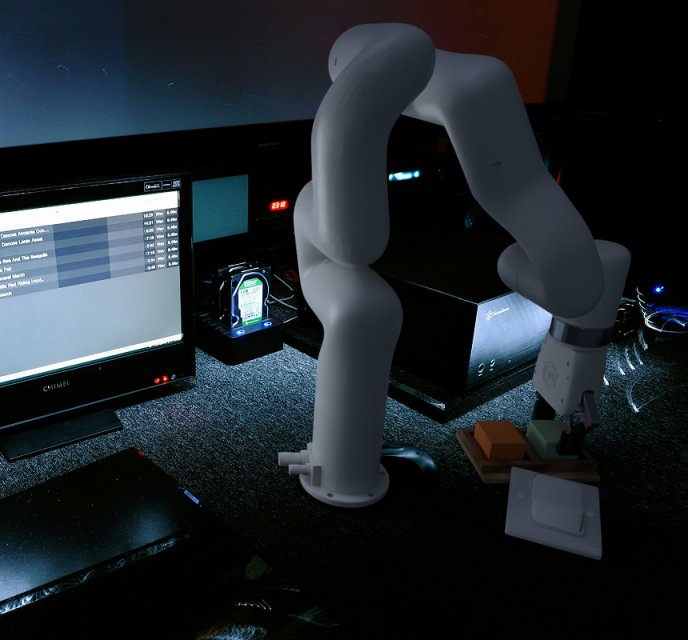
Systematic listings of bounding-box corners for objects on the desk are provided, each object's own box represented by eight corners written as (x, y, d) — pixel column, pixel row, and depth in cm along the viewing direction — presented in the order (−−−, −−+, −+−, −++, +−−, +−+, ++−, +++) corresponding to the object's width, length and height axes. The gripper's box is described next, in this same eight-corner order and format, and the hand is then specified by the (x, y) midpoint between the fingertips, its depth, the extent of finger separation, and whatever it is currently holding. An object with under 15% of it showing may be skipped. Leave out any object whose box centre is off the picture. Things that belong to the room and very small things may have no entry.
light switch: (509, 514, 83) (515, 450, 93) (503, 537, 85) (510, 473, 95) (608, 541, 79) (603, 471, 89) (599, 564, 81) (595, 494, 91)
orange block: (487, 466, 97) (491, 443, 95) (472, 442, 102) (476, 420, 101) (521, 466, 97) (526, 443, 95) (505, 442, 102) (509, 420, 101)
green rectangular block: (541, 465, 97) (546, 442, 95) (524, 441, 102) (529, 419, 101) (576, 465, 97) (582, 442, 95) (557, 441, 102) (562, 419, 101)
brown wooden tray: (483, 483, 94) (486, 470, 94) (455, 435, 105) (457, 423, 105) (599, 482, 94) (603, 469, 93) (558, 434, 105) (561, 422, 104)
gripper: (525, 306, 99) (505, 407, 106) (585, 359, 83) (557, 474, 91) (575, 305, 99) (552, 407, 106) (645, 358, 83) (612, 474, 90)
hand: (554, 437), depth 98 cm, fingers open, 7 cm apart
